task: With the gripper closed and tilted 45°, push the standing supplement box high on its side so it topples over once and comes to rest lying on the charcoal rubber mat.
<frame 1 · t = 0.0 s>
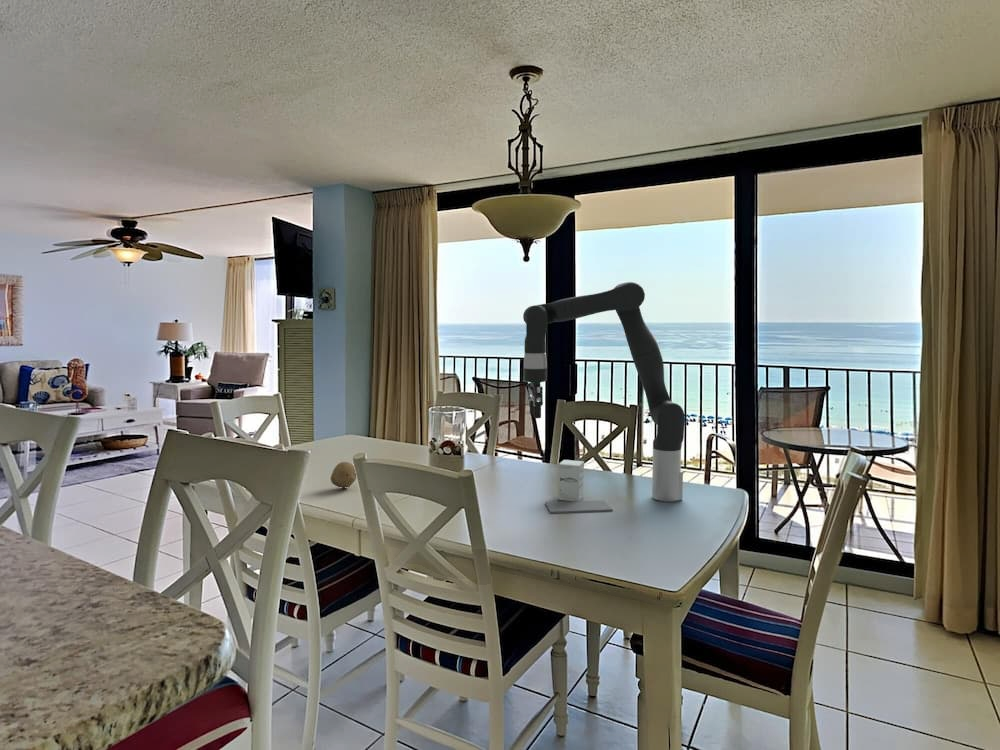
hand: (535, 416, 198), 29 cm above the table, tool pointing down, fingers open, 8 cm apart
natural sponge: (344, 489, 219), on the table
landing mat: (578, 507, 195), on the table
supplement box: (571, 499, 205), on the table
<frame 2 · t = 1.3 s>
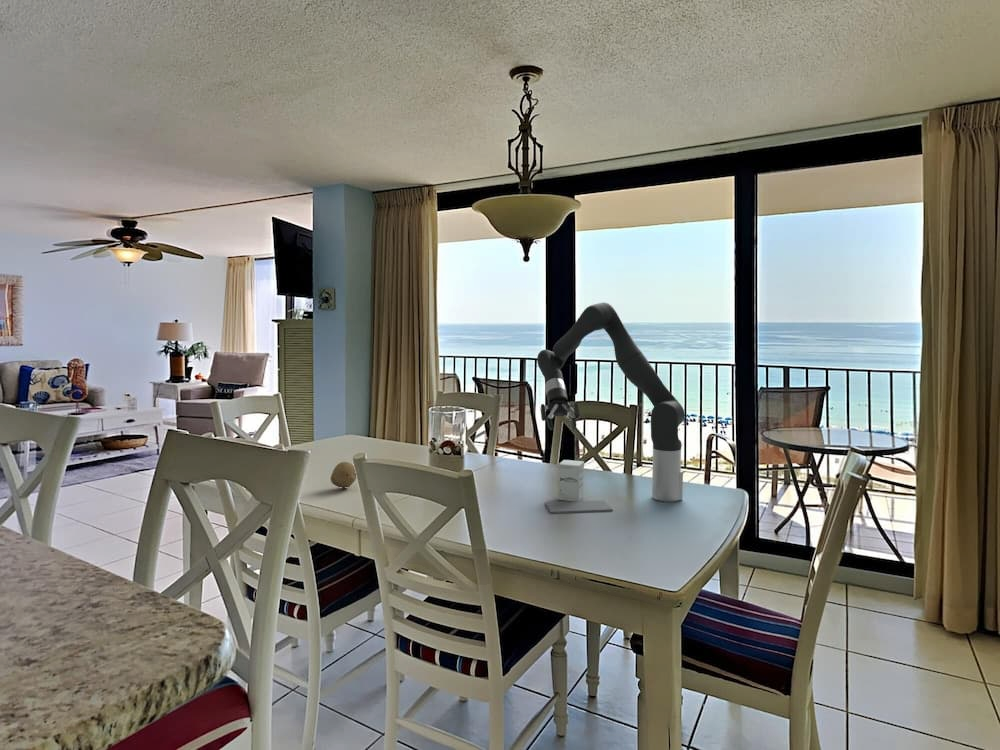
hand: (562, 428, 217), 22 cm above the table, tool tilted 45°, fingers open, 7 cm apart
nothing on the table moved.
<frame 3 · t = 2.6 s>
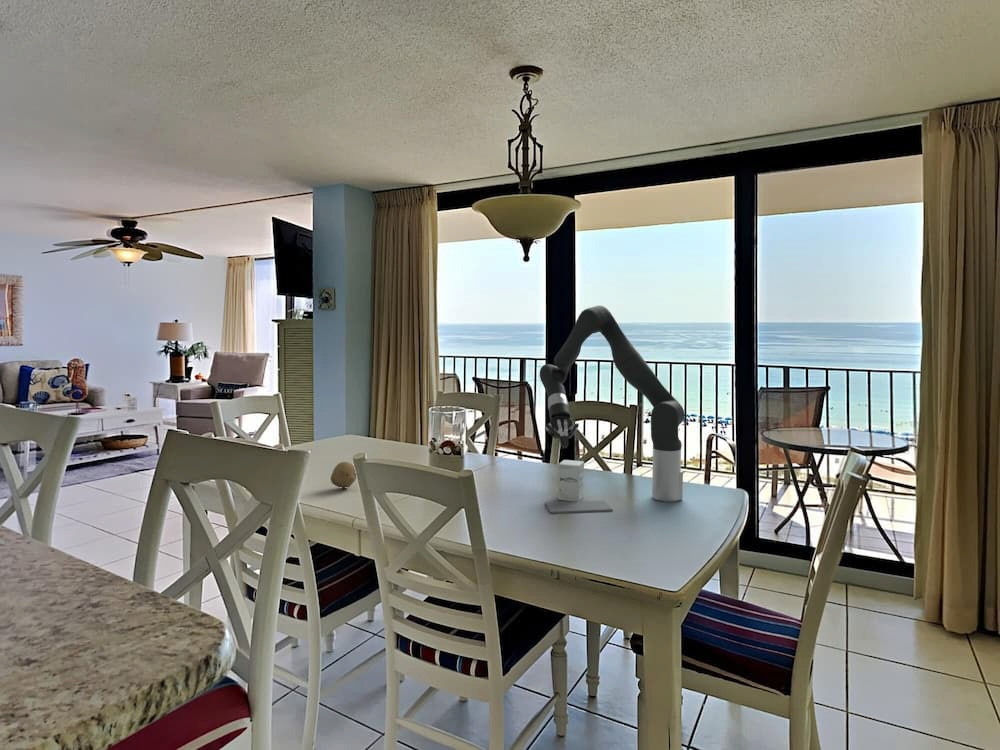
hand: (565, 446, 214), 16 cm above the table, tool tilted 45°, fingers closed
nothing on the table moved.
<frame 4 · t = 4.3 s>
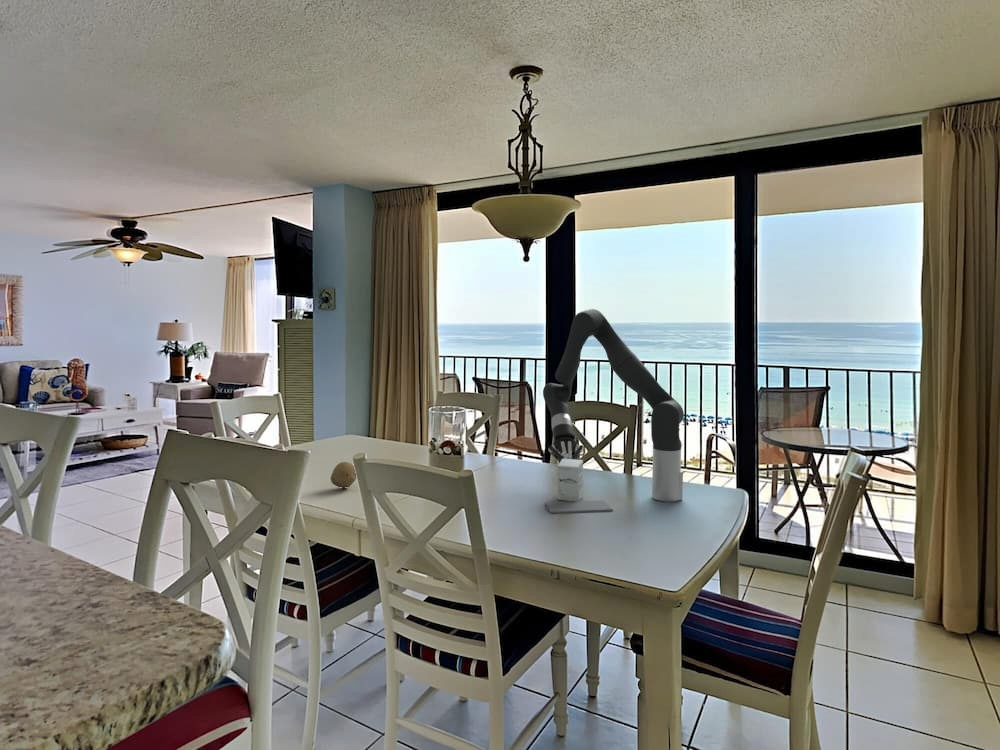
hand: (569, 470, 208), 9 cm above the table, tool tilted 45°, fingers closed
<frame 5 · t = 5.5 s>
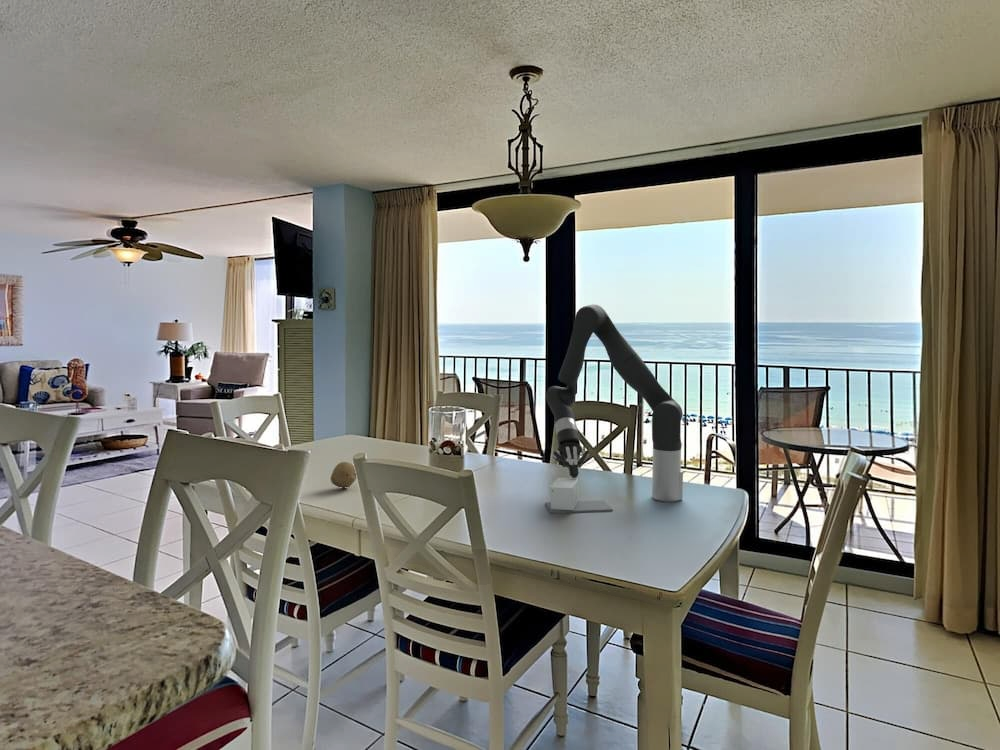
hand: (574, 476, 200), 9 cm above the table, tool tilted 45°, fingers closed
supplement box: (568, 488, 202), point 4 cm above the table, touching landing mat
everything else where it was.
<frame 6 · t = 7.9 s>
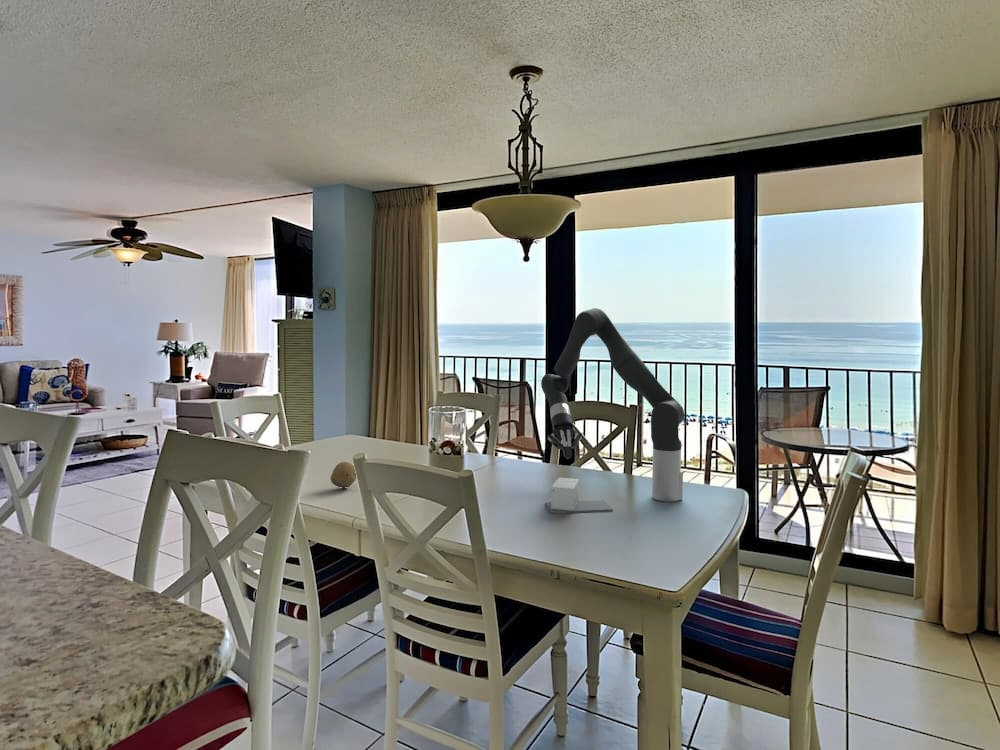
hand: (568, 457, 213), 12 cm above the table, tool tilted 45°, fingers closed
nothing on the table moved.
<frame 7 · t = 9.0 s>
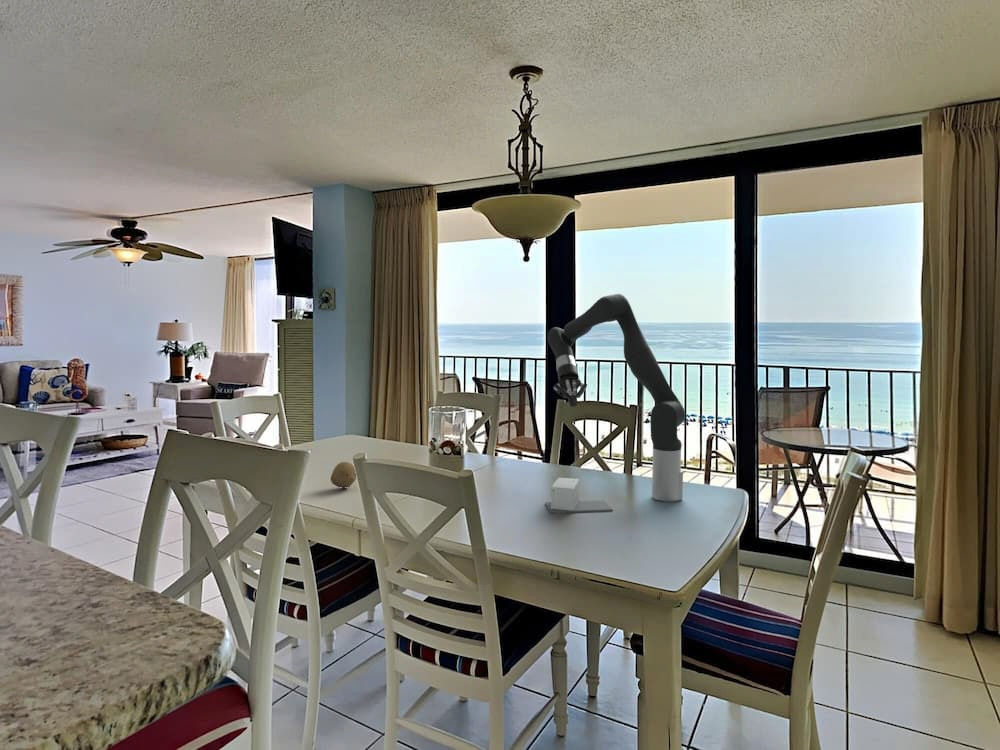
hand: (573, 405, 217), 30 cm above the table, tool tilted 45°, fingers closed
nothing on the table moved.
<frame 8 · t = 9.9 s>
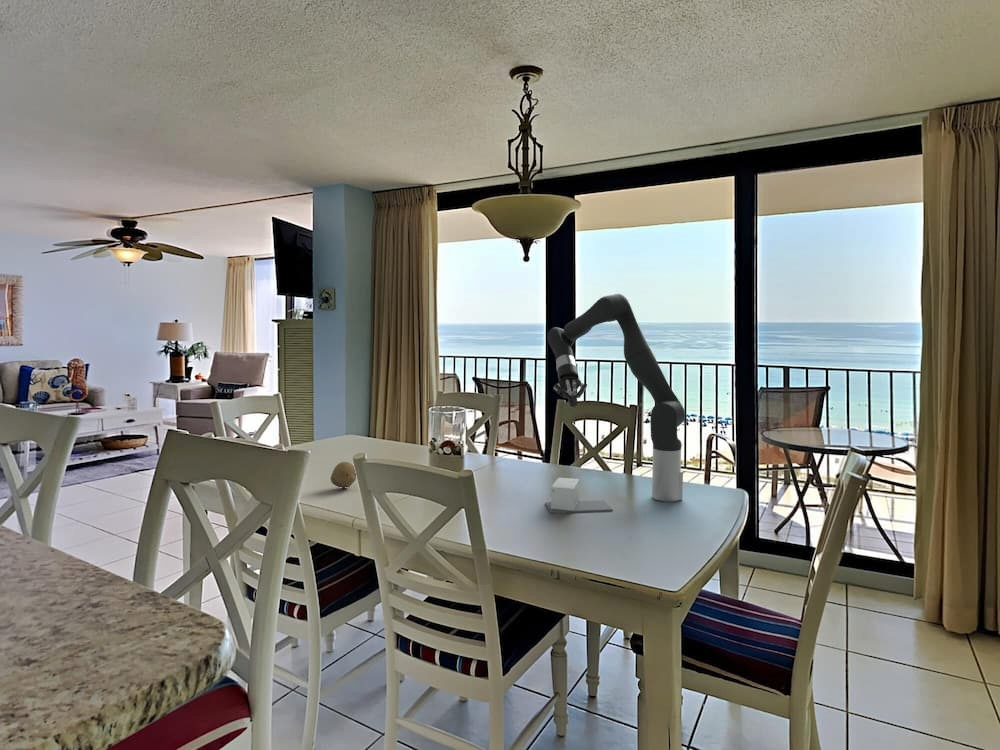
hand: (574, 405, 217), 30 cm above the table, tool tilted 45°, fingers closed
nothing on the table moved.
at the end: supplement box tilted 90°; supplement box inside the target area (7.1 cm from its centre), point 4.2 cm above the table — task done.
